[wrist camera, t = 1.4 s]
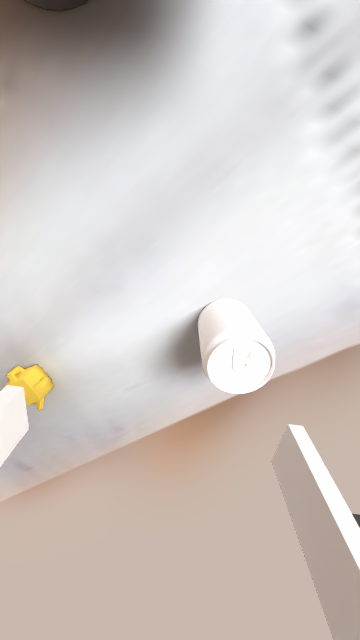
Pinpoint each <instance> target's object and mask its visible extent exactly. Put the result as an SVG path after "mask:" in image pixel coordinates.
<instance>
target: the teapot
mask: <svg viewBox="0 0 360 640" xmlns="http://www.w3.org/2000/svg"><path fill="white" fill-rule="evenodd" d="M6 376H7V377H8V378H9V381H8V382H7V383H6V384H5V386H4V388H5V387H6V386H7V385H11V386H18V387H23V388H24V395H25V402H26V406H27V405H30V404H33V403H36V405H37V409H38V410H42V409H43V404H44V398H45V396H46V395H47V394H48V393H49V392H50V391H51V389H52V388H53V386H54V385H53V383H52V382H51V381H52V380H51V378H49V377H48V376H47V375H46V374H45V372H44V371H43V368H42V367H40V366H38V365H34V366H31V367H28V368H26V369H23V368H21V367H20V366H17V367H14V368H13V369H12V370H11V371H10V372H9V373H8V374H7V375H6Z"/></svg>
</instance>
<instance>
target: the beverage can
mask: <svg viewBox="0 0 360 640" xmlns="http://www.w3.org/2000/svg"><path fill="white" fill-rule="evenodd" d="M198 331H199V341H200V350H201V360H202V366H203V370H204V372H205V374H206V375H207V377H208V378H209V379H210V380H211V381H212V383H213V384H214V385H215V386H216V387H218V388H219V389H221V390H223V391H225V392H228V393H233V394H244V393H248V392H252V391H254V390H257V389H258V388H260V387H262V386H263V385H264V384H265V383H266V382H267V381H268V380H269V379H270V377H271V376H272V374H273V371H274V366H275V351H274V347H273V345H272V343H271V341H270V340H269V338H268V337H267V335H266V334H265V333H264V331H263V330H262V328H261V327H260V325H259V324H258V322H257V321H256V320H255V318H254V317H253V315H252V314H251V312H250V311H249V310H248V308H247V307H246V306H245V305H244V304H243V303H241V302H239V301H237V300H234V299H219V300H216V301H214V302H212V303H210V304H209V305H208V306H206V307H205V308H204V310H203V311H202V312H201V314H200V317H199V320H198Z"/></svg>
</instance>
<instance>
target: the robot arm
mask: <svg viewBox="0 0 360 640" xmlns="http://www.w3.org/2000/svg"><path fill="white" fill-rule="evenodd" d="M25 1H27V2H29V3H31V4H33V5H35V6H38V7H41V8H45V9H50V10H66V9H70V8H74V7H77V6H79V5H81V4H83V3H85V2H86V1H88V0H25ZM28 429H29V424H28V417H27V410H26V402H25V395H24V388H23V387H18V386H11V385H7V386H6V387H5V388H3V389H2V390H1V391H0V467H1V465H2V464H3V463H4V461H5V460H6V459H7V457H8V456H9V455H10V453H11V452H12V451H13V449H14V448H15V447H16V445H17V444H18V443H19V441H20V440H21V439H22V437H23V436H24V435H25V433H26V432H27V431H28ZM271 462H272V464H273V467H274V470H275V473H276V476H277V479H278V482H279V485H280V487H281V490H282V493H283V496H284V499H285V502H286V505H287V507H288V510H289V513H290V516H291V519H292V522H293V525H294V528H295V530H296V534H297V536H298V539H299V542H300V545H301V548H302V551H303V553H304V557H305V559H306V562H307V565H308V568H309V571H310V574H311V577H312V580H313V582H314V585H315V588H316V591H317V594H318V597H319V600H320V602H321V605H322V608H323V611H324V614H325V617H326V620H327V623H328V625H329V628H330V631H331V634H332V637H333V640H360V515H357V514H352V513H351V512H350V510H349V508H348V506H347V504H346V503H345V501H344V499H343V497H342V495H341V494H340V492H339V490H338V488H337V486H336V485H335V483H334V481H333V479H332V478H331V476H330V474H329V472H328V471H327V469H326V467H325V465H324V464H323V461H322V460H321V458H320V456H319V454H318V452H317V451H316V449H315V447H314V445H313V443H312V442H311V440H310V438H309V436H308V435H307V433H306V431H305V429H304V428H303V426H298V425H291V424H288V425H287V428H286V430H285V432H284V434H283V436H282V438H281V441H280V443H279V445H278V447H277V449H276V451H275V454H274V456H273V458H272V461H271Z"/></svg>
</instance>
